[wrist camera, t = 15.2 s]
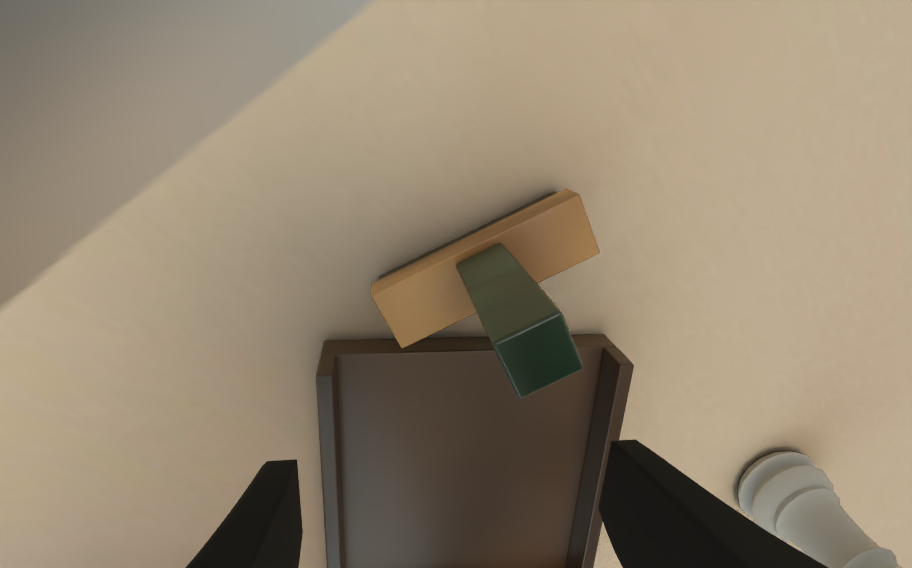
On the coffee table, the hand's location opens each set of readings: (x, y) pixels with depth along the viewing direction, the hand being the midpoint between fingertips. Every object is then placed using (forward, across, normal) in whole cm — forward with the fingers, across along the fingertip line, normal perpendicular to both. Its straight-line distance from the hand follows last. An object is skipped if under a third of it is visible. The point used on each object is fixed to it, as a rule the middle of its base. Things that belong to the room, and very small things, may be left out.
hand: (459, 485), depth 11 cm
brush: (+9, -2, -3) cm, 10 cm away
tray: (+9, -2, +8) cm, 13 cm away
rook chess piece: (+10, -19, +10) cm, 24 cm away
